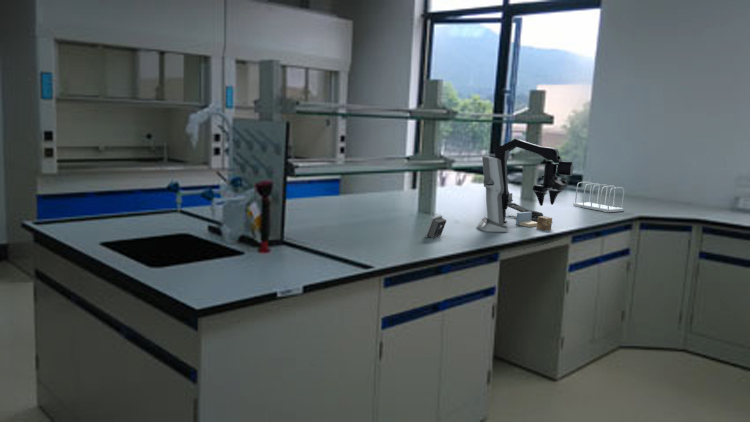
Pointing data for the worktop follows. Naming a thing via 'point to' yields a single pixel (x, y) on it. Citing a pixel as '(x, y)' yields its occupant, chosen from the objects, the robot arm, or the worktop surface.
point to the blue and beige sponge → (525, 219)
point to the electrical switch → (435, 227)
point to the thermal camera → (493, 196)
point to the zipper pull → (522, 209)
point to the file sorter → (599, 206)
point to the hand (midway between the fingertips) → (546, 205)
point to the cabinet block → (544, 223)
